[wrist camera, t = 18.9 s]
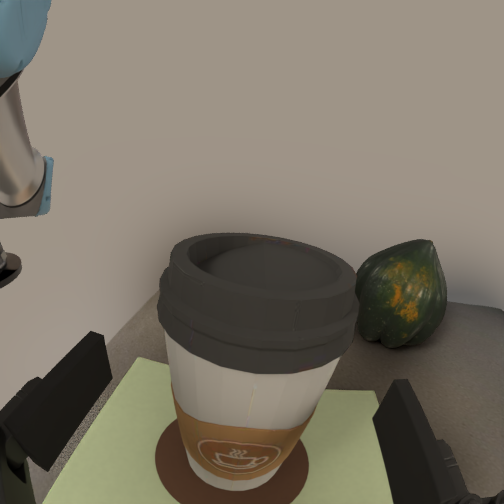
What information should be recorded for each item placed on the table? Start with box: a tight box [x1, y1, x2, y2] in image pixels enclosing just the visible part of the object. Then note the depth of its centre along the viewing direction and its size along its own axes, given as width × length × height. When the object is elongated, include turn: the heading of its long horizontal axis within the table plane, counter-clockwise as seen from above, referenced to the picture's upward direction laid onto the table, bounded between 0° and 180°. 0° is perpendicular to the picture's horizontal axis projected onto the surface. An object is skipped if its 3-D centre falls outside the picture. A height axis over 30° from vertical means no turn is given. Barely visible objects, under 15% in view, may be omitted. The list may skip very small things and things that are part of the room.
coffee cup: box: [157, 233, 360, 491], centre depth 13 cm, size 8×8×15 cm
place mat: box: [42, 357, 393, 504], centre depth 14 cm, size 24×20×1 cm
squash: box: [354, 239, 447, 348], centre depth 33 cm, size 14×15×15 cm
